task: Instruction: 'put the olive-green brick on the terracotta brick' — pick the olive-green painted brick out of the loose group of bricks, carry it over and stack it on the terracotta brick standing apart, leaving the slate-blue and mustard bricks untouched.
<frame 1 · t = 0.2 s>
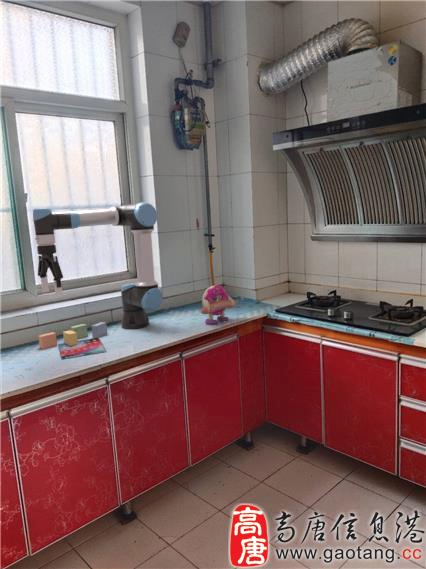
hand: (52, 293, 191), 28 cm above the counter, fingers open, 13 cm apart
magazine: (81, 349, 202), on the counter
toy: (218, 322, 234), on the counter
slate brick: (100, 335, 222), on the counter
green brick: (79, 337, 221), on the counter
terracotta brick: (48, 346, 208), on the counter
mustard brick: (71, 344, 209), on the counter
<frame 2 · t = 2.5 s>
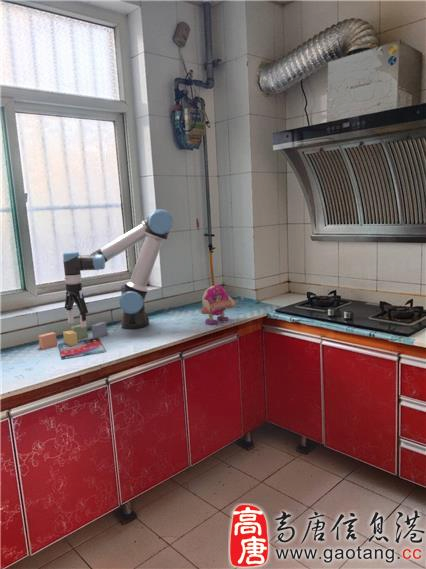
hand: (77, 324, 220), 6 cm above the counter, fingers open, 13 cm apart
nothing on the counter moved.
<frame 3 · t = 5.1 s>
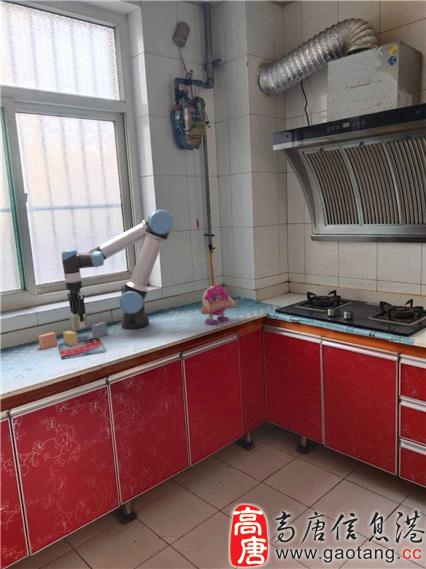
hand: (80, 326, 220), 5 cm above the counter, fingers closed on green brick, 3 cm apart
green brick: (79, 328, 220), point 5 cm above the counter, touching gripper
everything else where it was.
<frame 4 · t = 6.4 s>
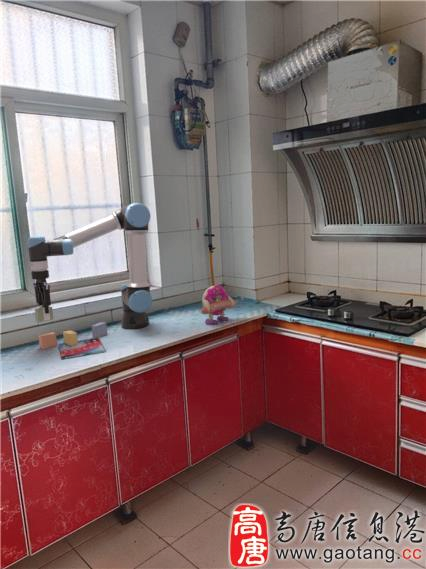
hand: (45, 319, 206), 13 cm above the counter, fingers closed on green brick, 3 cm apart
green brick: (44, 320, 206), point 13 cm above the counter, touching gripper
everything else where it was.
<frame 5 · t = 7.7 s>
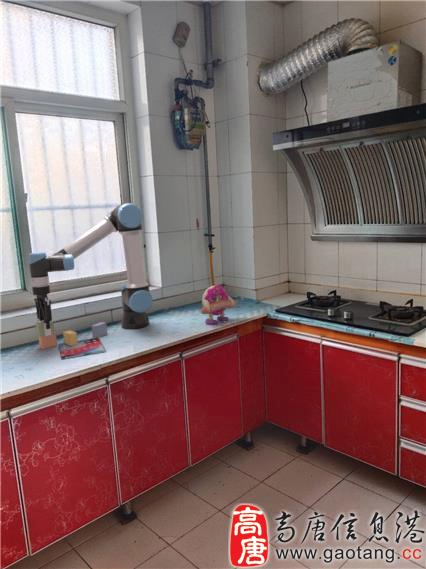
hand: (46, 334, 207), 6 cm above the counter, fingers closed on green brick, terracotta brick, 3 cm apart
green brick: (45, 334, 207), point 6 cm above the counter, touching gripper, terracotta brick
terracotta brick: (48, 346, 208), on the counter, touching green brick, gripper
everything else where it was.
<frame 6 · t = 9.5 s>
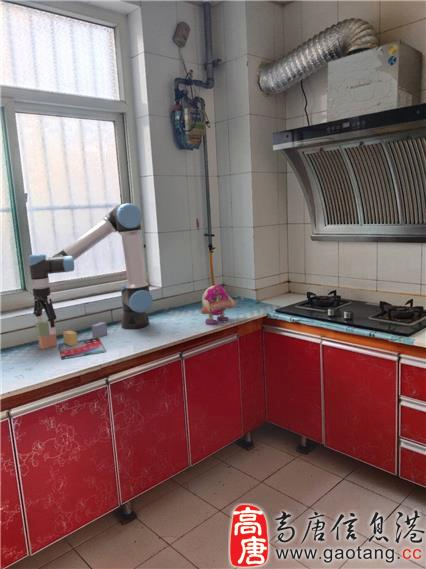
hand: (46, 331, 207), 7 cm above the counter, fingers open, 13 cm apart
green brick: (45, 334, 207), point 6 cm above the counter, touching terracotta brick
terracotta brick: (48, 346, 208), on the counter, touching green brick
everything else where it was.
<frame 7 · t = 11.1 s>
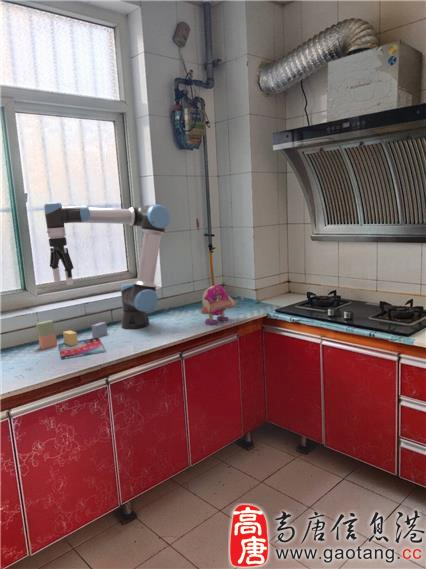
hand: (63, 283, 202), 30 cm above the counter, fingers open, 13 cm apart
nothing on the counter moved.
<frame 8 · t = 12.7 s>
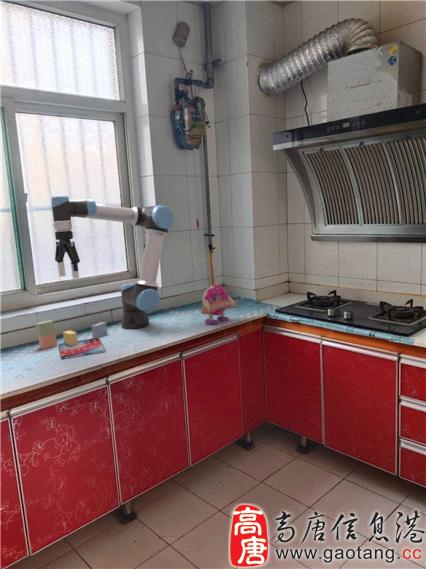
hand: (69, 277, 201), 33 cm above the counter, fingers open, 13 cm apart
nothing on the counter moved.
at the end: green brick 0.5 cm off-centre on the terracotta brick, point 6.0 cm above the terracotta brick's base; slate brick moved 0.1 cm from its start; mustard brick moved 0.1 cm from its start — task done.
